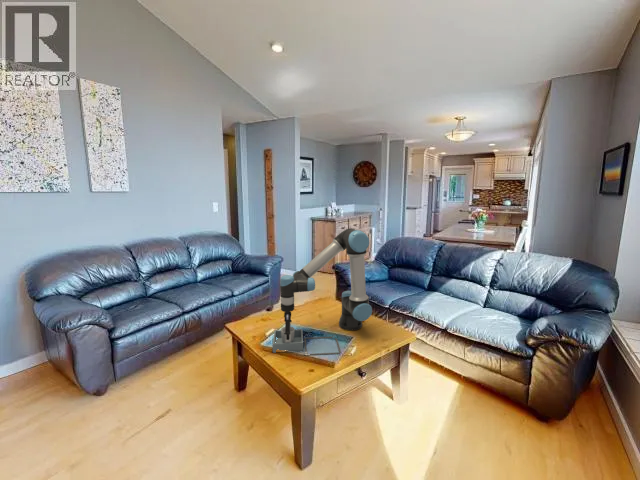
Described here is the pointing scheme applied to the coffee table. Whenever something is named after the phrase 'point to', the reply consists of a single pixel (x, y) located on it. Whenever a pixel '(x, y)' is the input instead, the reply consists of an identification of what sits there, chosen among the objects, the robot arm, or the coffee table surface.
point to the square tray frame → (321, 353)
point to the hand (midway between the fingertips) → (288, 338)
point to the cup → (290, 334)
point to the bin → (294, 346)
